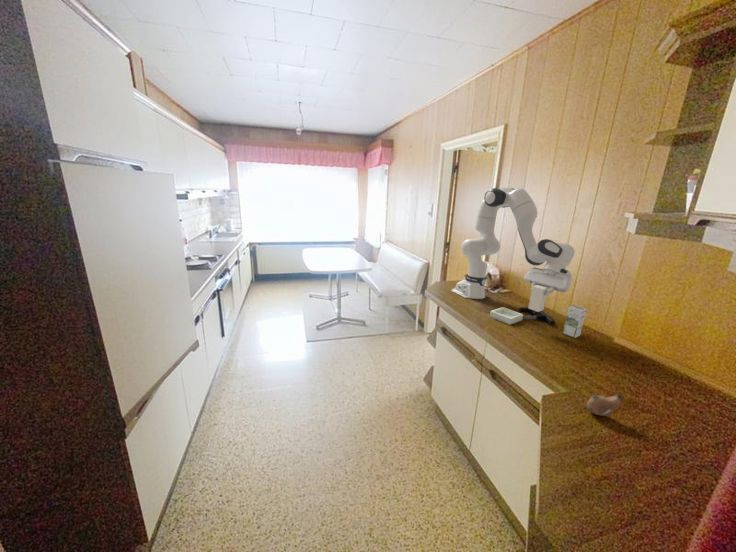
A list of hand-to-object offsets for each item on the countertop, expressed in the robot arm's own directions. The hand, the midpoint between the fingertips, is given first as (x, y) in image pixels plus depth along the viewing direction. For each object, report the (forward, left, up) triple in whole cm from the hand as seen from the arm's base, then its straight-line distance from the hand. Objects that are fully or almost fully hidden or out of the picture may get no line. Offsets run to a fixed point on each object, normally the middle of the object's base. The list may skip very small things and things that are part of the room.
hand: (538, 292), depth 141 cm
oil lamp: (+44, -42, -20) cm, 64 cm away
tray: (-14, 0, -19) cm, 24 cm away
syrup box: (+14, +11, -20) cm, 26 cm away
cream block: (0, +1, -9) cm, 9 cm away
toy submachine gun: (-7, +16, -20) cm, 27 cm away
